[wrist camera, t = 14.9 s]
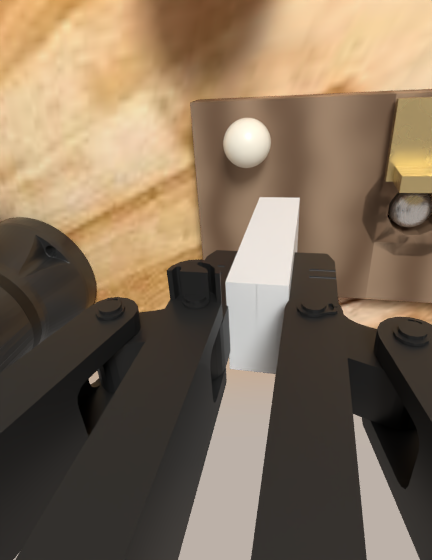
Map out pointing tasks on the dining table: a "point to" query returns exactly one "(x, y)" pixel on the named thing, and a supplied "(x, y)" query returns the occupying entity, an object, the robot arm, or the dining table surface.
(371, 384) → the robot arm
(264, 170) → the board
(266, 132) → the cream ball
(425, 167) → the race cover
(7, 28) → the dining table surface
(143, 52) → the dining table surface
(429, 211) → the steel ball
